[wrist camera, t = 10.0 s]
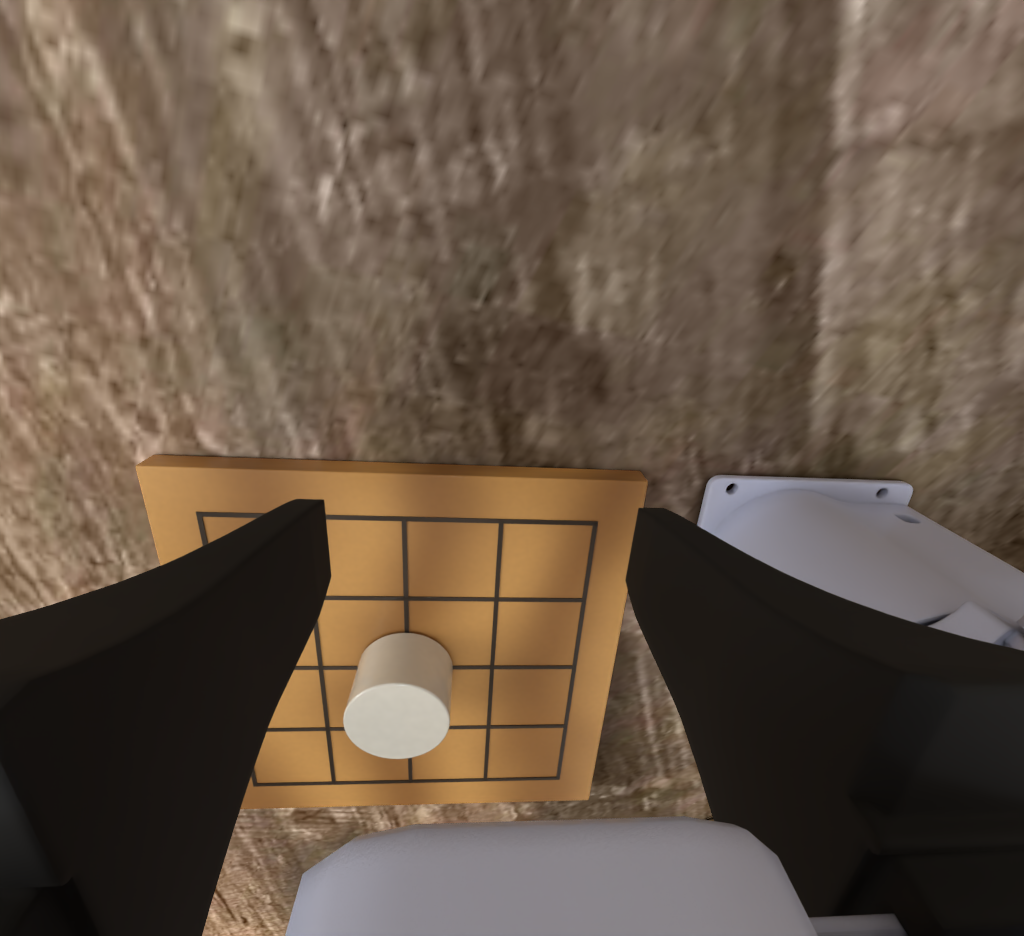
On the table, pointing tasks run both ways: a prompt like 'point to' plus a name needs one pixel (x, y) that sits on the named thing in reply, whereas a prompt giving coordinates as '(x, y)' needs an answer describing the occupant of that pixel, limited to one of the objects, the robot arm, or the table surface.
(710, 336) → the table surface
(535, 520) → the game board
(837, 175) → the table surface
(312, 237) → the table surface
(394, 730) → the white stone
